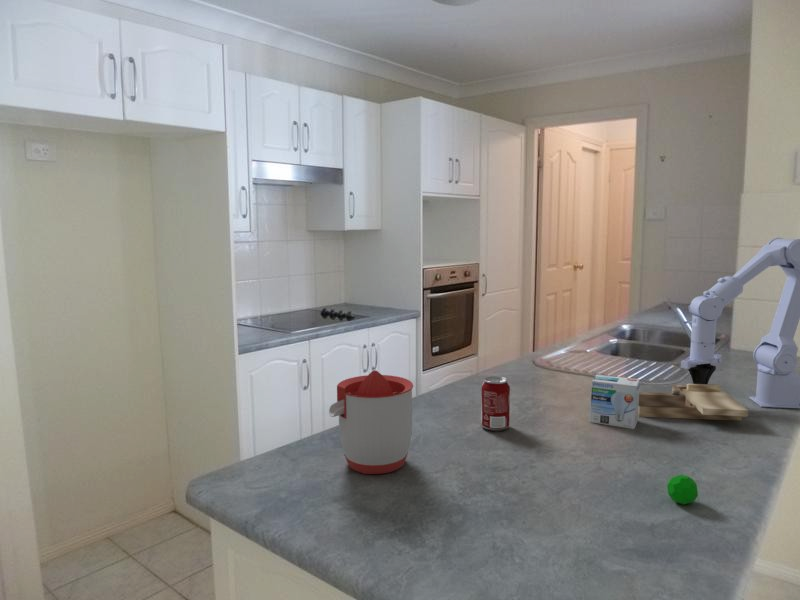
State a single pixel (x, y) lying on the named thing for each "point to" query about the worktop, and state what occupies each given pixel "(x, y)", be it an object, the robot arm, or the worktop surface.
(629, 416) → the light bulb box
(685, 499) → the polyhedron
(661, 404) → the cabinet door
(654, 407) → the brown piece
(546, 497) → the worktop surface
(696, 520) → the worktop surface
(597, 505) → the worktop surface
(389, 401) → the citrus juicer
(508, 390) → the soda can
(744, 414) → the lid
